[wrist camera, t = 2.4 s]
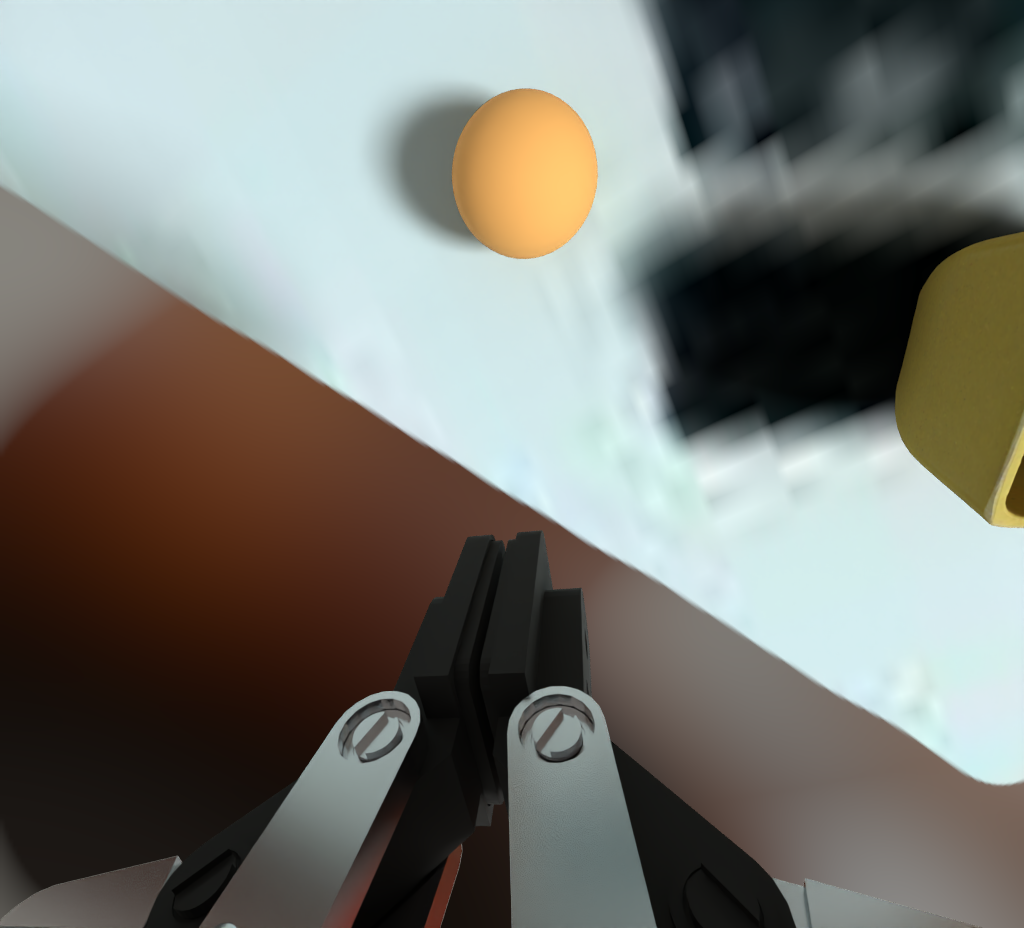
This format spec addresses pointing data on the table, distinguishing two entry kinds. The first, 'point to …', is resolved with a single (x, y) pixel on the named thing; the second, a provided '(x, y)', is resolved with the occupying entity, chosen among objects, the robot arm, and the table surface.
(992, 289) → the flower pot
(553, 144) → the ball
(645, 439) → the table surface
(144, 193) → the table surface
